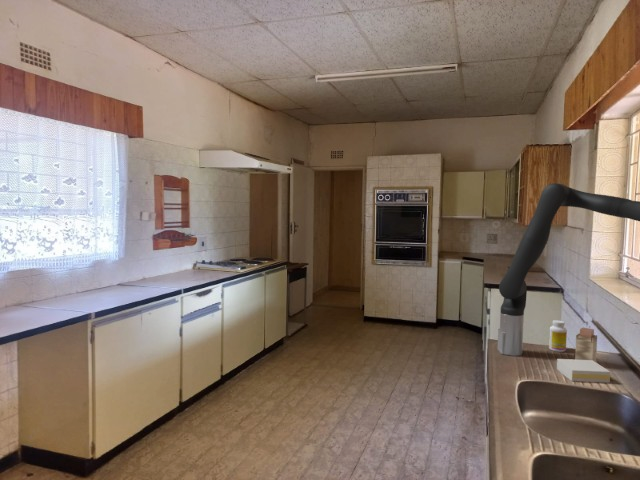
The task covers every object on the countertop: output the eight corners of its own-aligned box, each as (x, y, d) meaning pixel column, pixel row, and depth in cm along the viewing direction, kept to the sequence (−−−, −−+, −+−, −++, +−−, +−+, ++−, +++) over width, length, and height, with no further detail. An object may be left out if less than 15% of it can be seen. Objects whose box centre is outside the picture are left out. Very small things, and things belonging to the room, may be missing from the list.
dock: (571, 381, 156) (572, 370, 156) (556, 368, 168) (557, 358, 168) (609, 382, 155) (610, 372, 155) (591, 370, 167) (592, 360, 167)
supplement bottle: (569, 352, 188) (570, 323, 187) (553, 352, 188) (554, 323, 187) (560, 347, 194) (562, 319, 193) (545, 347, 194) (547, 319, 194)
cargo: (579, 339, 174) (580, 329, 174) (582, 336, 177) (582, 327, 177) (590, 341, 171) (591, 331, 171) (593, 339, 174) (594, 329, 174)
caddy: (574, 363, 175) (576, 335, 174) (579, 359, 179) (580, 332, 178) (591, 367, 171) (593, 338, 170) (595, 363, 175) (597, 335, 174)
